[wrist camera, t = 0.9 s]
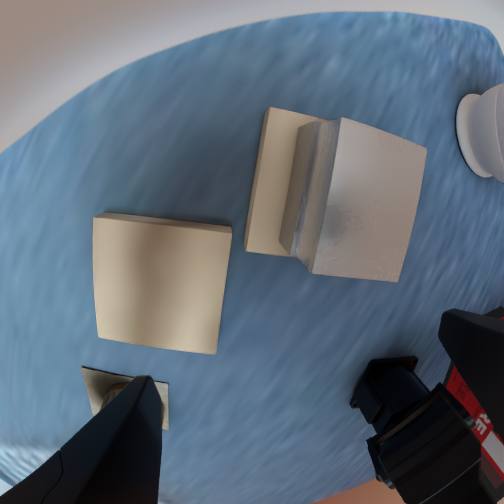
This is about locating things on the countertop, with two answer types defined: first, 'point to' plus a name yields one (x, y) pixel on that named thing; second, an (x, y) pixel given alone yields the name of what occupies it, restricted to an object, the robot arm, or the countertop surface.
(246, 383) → the countertop surface
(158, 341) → the stand
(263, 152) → the stand
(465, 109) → the jar
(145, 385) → the robot arm
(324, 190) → the block
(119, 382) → the condiment
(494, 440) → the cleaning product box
